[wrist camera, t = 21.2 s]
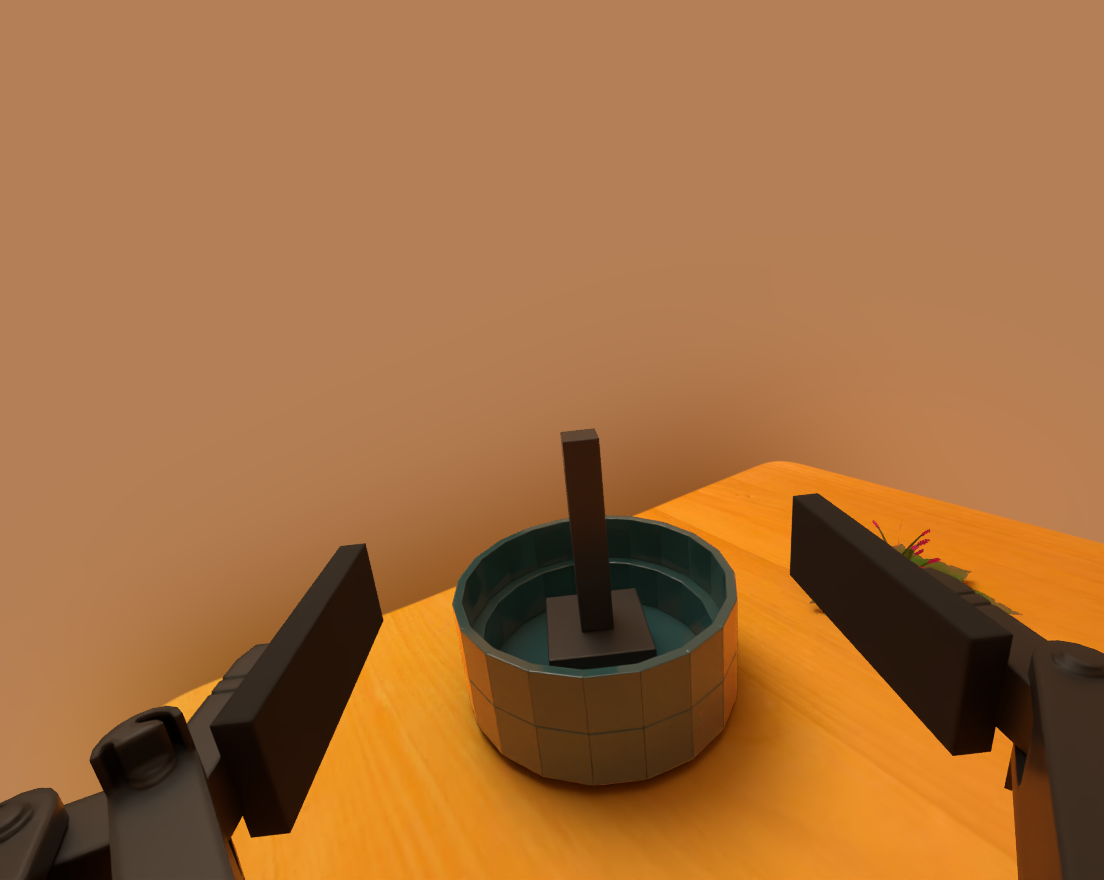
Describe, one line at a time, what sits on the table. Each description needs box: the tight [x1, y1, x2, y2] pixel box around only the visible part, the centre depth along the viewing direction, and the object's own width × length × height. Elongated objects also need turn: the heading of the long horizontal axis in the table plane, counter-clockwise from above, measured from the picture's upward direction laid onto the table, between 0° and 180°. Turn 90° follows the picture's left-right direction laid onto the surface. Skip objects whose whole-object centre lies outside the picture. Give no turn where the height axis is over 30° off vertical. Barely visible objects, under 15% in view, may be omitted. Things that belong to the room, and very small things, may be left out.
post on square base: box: [546, 429, 657, 670], centre depth 28 cm, size 6×6×14 cm
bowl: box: [452, 515, 737, 786], centre depth 29 cm, size 15×15×6 cm
